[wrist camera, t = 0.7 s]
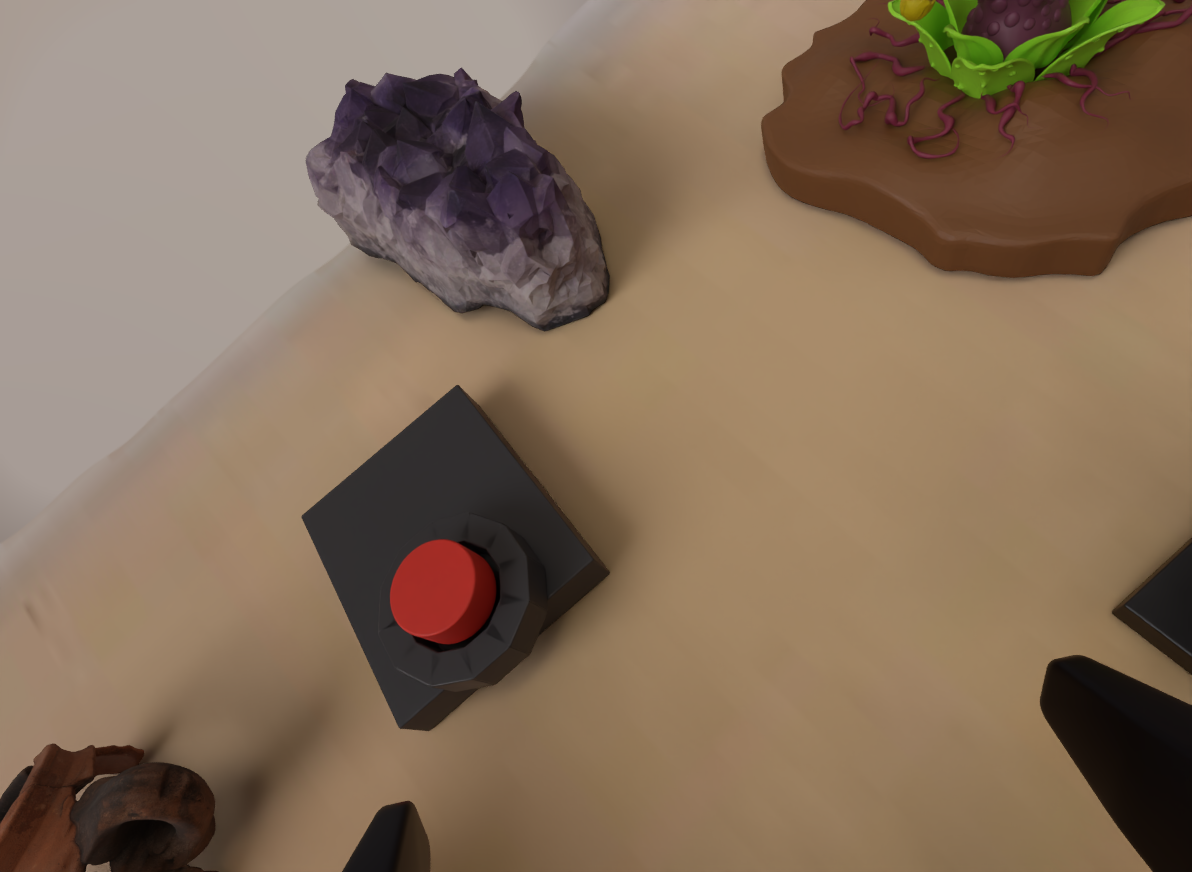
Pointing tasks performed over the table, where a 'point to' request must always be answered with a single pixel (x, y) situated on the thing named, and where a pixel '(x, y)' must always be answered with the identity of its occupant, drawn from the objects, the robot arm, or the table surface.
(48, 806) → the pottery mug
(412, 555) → the power button
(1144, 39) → the plant
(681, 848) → the table surface
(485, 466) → the power base
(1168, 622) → the switch bracket
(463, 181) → the geode
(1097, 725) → the robot arm
